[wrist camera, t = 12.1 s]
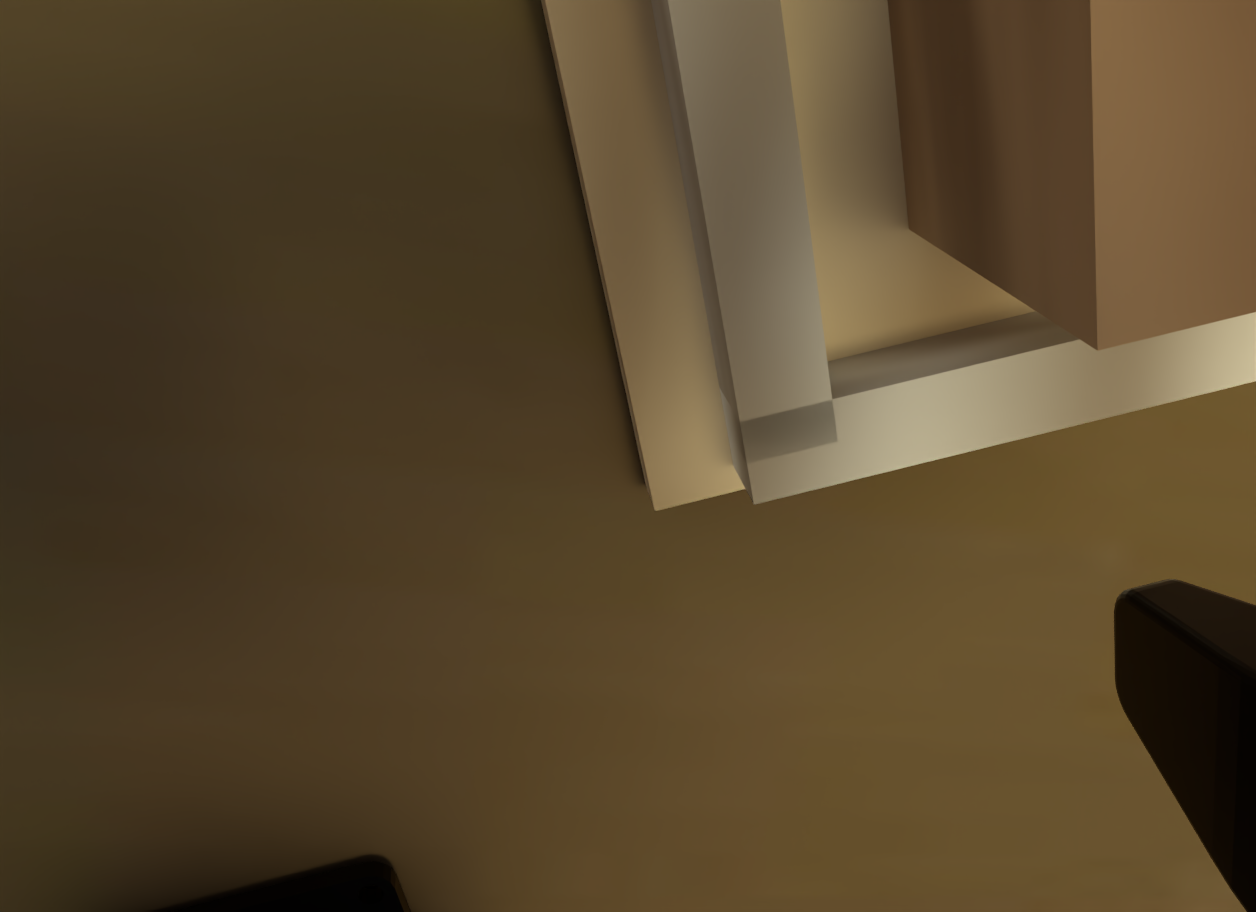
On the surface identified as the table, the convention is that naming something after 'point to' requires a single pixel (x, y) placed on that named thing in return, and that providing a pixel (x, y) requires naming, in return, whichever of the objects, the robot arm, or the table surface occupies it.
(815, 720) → the table surface
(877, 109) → the tray
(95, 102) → the table surface
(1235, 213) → the brown slab
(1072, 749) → the table surface
